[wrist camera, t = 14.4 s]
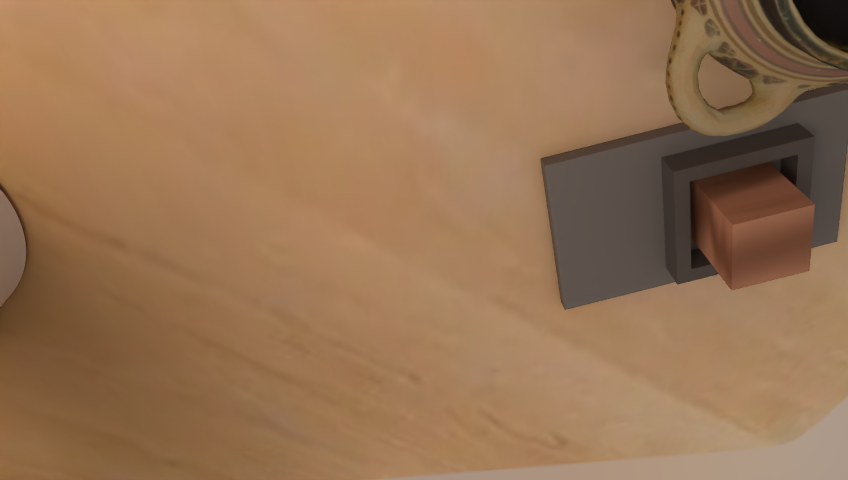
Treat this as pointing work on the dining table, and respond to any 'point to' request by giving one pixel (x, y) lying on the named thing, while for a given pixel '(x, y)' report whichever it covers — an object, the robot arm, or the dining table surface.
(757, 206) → the terracotta block
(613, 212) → the base board
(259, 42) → the dining table surface
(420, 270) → the dining table surface
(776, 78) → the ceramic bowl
